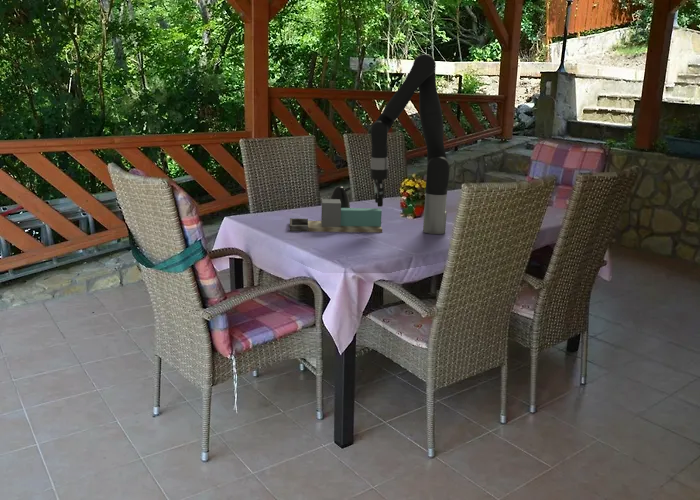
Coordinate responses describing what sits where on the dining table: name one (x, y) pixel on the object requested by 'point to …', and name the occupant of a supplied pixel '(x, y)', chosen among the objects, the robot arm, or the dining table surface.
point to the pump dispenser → (341, 196)
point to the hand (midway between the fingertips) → (378, 204)
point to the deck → (317, 227)
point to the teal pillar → (361, 216)
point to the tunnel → (331, 213)
